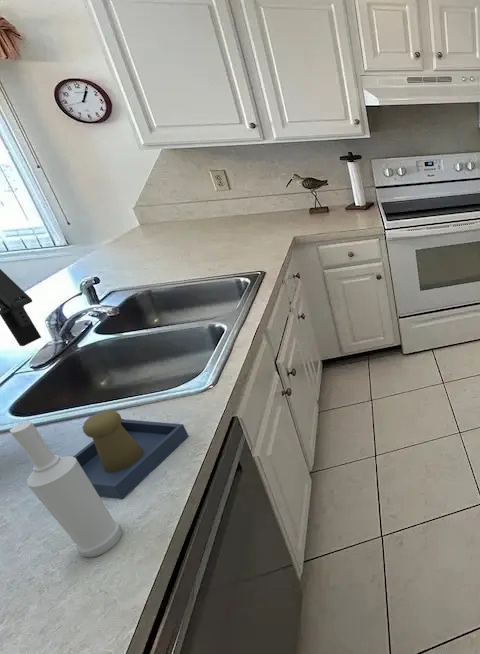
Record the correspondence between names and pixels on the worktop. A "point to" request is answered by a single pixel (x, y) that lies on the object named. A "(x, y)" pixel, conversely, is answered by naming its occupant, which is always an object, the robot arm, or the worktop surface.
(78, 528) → the bottle
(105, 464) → the cork
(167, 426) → the tray
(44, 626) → the worktop surface
